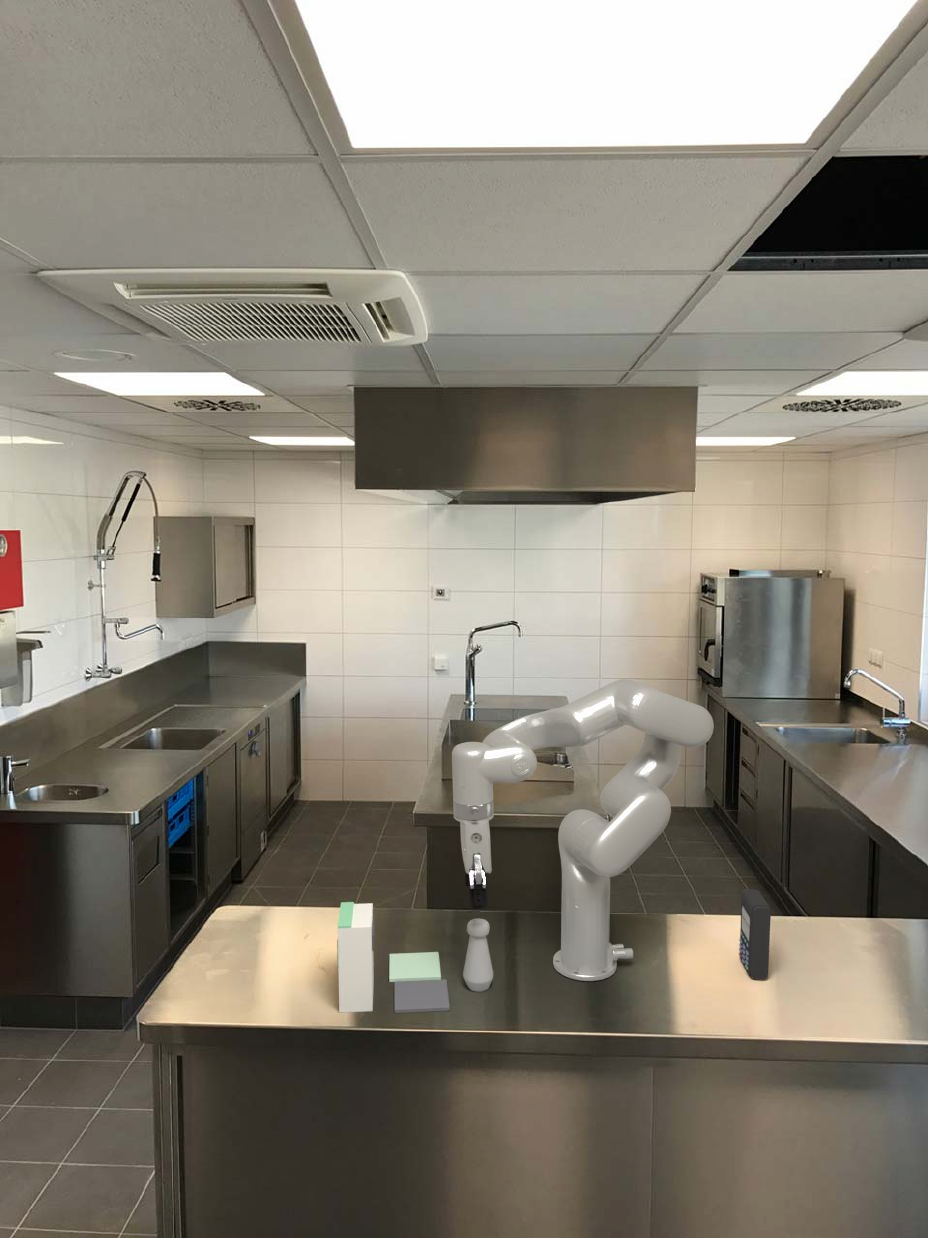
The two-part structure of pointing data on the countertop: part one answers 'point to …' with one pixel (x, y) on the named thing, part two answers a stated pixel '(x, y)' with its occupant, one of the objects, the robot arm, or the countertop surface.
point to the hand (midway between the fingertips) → (475, 896)
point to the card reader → (755, 934)
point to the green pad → (414, 966)
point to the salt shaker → (478, 957)
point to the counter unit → (355, 957)
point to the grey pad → (421, 996)
